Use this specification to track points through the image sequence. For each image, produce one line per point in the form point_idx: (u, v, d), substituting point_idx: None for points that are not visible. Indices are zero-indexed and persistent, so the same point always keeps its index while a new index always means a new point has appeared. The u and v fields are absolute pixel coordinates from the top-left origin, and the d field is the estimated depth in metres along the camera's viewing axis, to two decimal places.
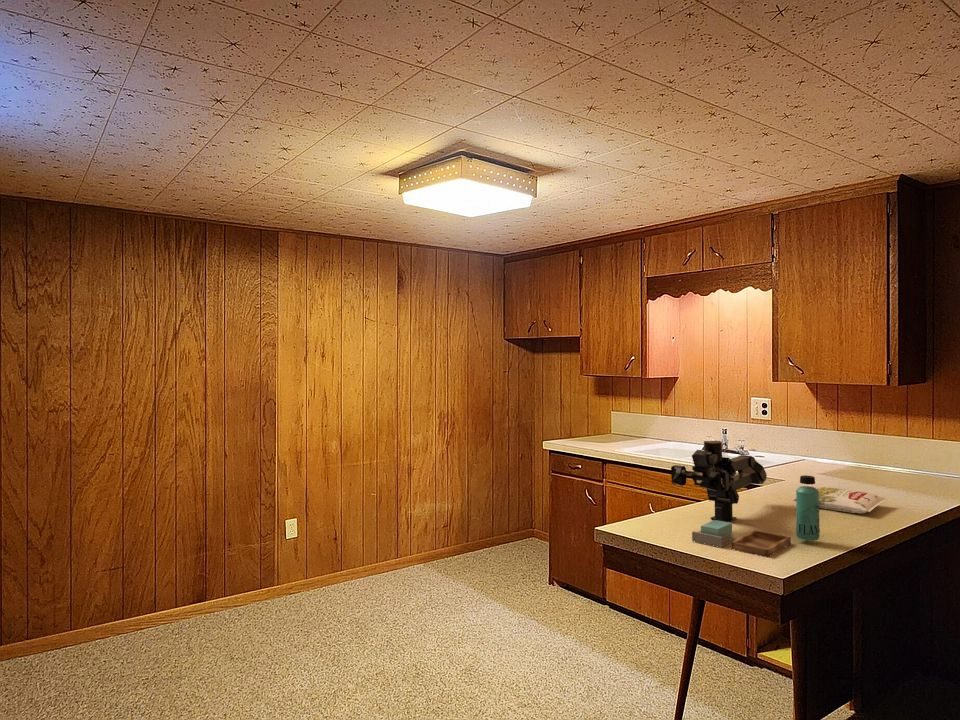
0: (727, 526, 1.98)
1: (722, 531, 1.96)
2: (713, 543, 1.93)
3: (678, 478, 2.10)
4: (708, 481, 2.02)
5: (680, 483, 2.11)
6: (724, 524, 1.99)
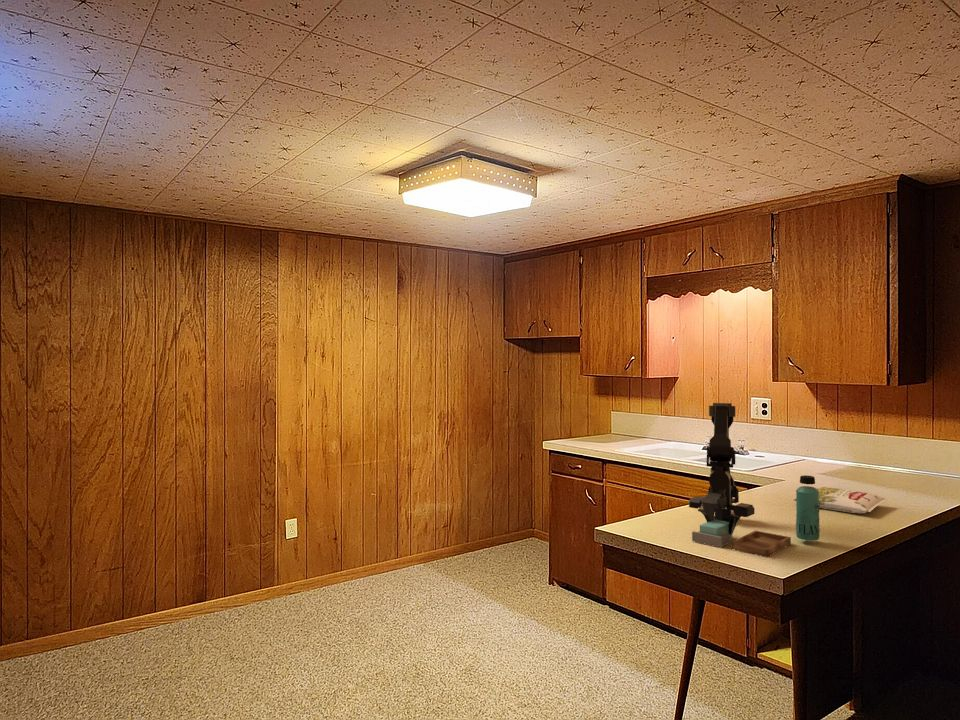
0: (726, 526, 1.98)
1: (721, 531, 1.96)
2: (713, 543, 1.93)
3: (711, 520, 2.03)
4: (733, 526, 1.98)
5: (713, 514, 2.05)
6: (723, 524, 1.99)
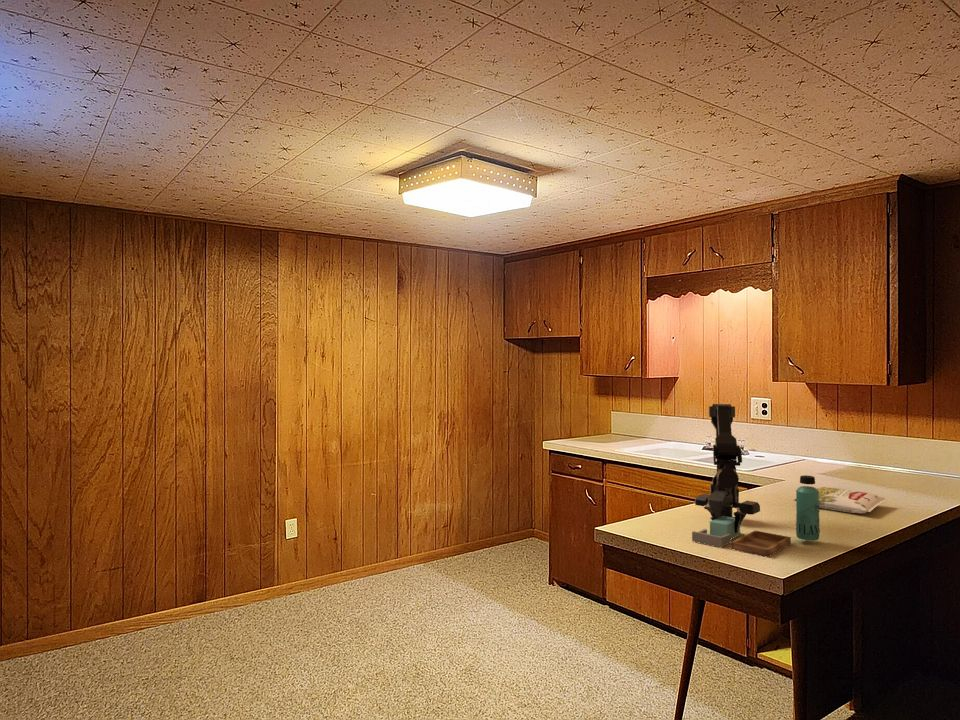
0: None
1: (731, 527, 2.00)
2: (713, 543, 1.93)
3: None
4: (738, 523, 2.01)
5: (719, 512, 2.08)
6: (732, 520, 2.03)
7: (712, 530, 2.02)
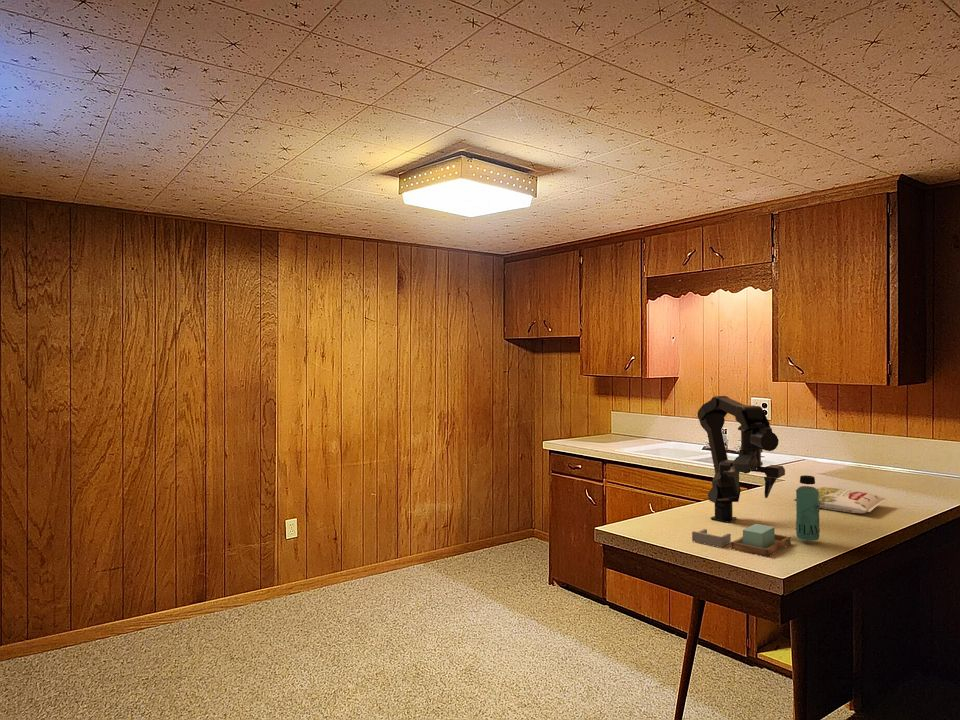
0: (770, 531, 1.90)
1: (765, 536, 1.88)
2: (713, 543, 1.93)
3: (736, 482, 2.08)
4: (769, 488, 2.00)
5: (738, 476, 2.10)
6: (767, 528, 1.91)
7: (745, 539, 1.90)
